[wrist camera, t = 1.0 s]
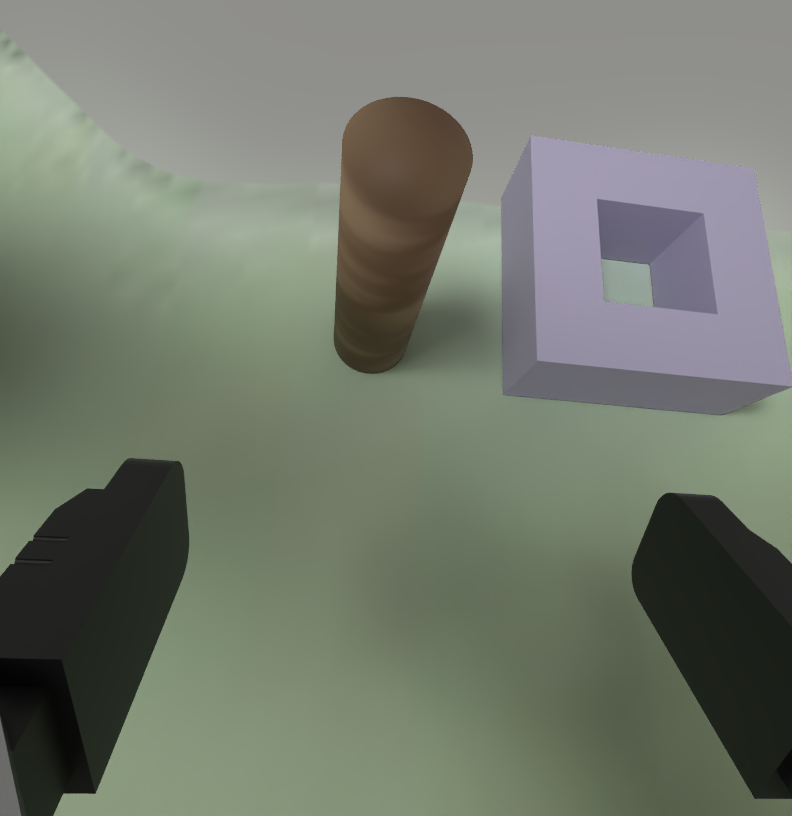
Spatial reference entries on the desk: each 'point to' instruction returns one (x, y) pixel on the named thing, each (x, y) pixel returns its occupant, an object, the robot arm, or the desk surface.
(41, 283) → the desk surface
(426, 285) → the dowel
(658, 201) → the socket
